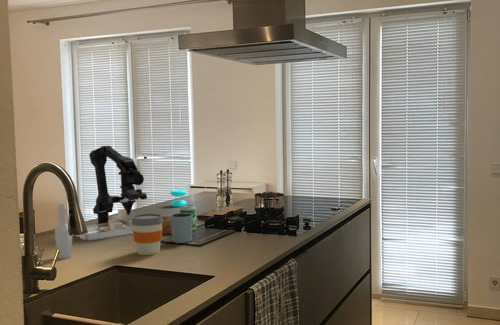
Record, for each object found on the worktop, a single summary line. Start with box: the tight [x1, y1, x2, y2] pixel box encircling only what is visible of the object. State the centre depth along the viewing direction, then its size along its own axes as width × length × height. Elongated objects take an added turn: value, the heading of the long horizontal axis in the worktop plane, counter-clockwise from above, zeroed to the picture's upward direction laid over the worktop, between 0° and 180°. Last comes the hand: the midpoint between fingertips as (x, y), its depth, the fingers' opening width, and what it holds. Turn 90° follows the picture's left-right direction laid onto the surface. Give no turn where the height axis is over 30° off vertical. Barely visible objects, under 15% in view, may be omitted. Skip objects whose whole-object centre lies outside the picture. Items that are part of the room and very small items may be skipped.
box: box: [77, 226, 101, 241], centre depth 256 cm, size 15×12×4 cm
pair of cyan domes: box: [170, 189, 188, 208], centre depth 340 cm, size 10×10×10 cm
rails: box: [86, 223, 133, 242], centre depth 262 cm, size 21×31×3 cm
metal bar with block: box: [112, 208, 133, 227], centre depth 265 cm, size 20×3×7 cm, turn 38°
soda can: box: [179, 204, 197, 232], centre depth 263 cm, size 8×8×12 cm
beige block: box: [110, 222, 123, 230], centre depth 260 cm, size 4×4×3 cm
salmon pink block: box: [108, 219, 120, 227], centre depth 266 cm, size 4×4×3 cm
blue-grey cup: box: [169, 212, 193, 244], centre depth 239 cm, size 10×10×12 cm
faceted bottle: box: [54, 202, 73, 260], centre depth 214 cm, size 6×6×22 cm
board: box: [99, 225, 128, 231], centre depth 265 cm, size 13×15×2 cm
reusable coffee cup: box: [131, 213, 163, 256], centre depth 219 cm, size 13×13×15 cm
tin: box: [162, 215, 172, 235], centre depth 259 cm, size 15×3×8 cm, turn 62°
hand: (128, 214), depth 267 cm, fingers closed
